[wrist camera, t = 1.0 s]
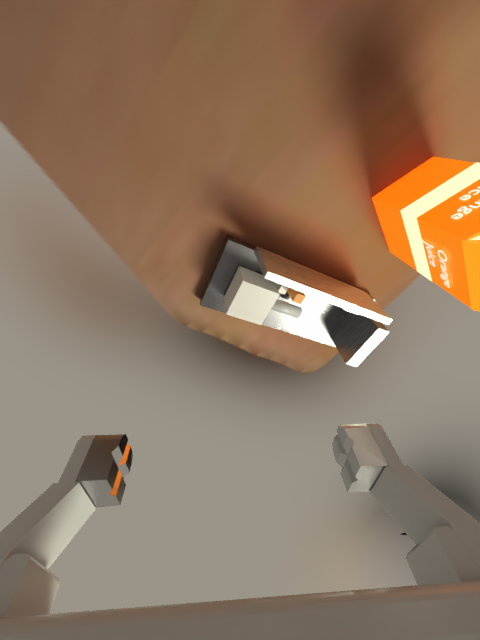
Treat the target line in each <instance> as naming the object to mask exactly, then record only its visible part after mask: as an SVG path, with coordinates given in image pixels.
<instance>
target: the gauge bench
mask: <svg viewBox="0 0 480 640" xmlns="http://www.w3.org/2000/svg"><path fill="white" fill-rule="evenodd" d="M239 266H241V267H243V268H246V269H249V270H251V271H254V272H257V273H259V274H262V275H263V276H264V278H266V279H268V280H271V281H274V282H276V283H279V284H282V285H284V286H287V287H290V288H292V289H295V290H297V291H300V292H303V293H304V294H305V296H306V297H305V299H304V300H303V302H302V303H301V304H298V303H295V302H292V300H291V298H290V296H289V294H288V292H286V293H285V295H284V294H281V293H280V295H279V297H278V299H279V300H282V301H285V302H288V303H290V304H293V305H296V306H299V307H301V308H302V314H301V316H300V317H299V318H295V317H292V316H289V315H286V314H283V313H280V312H277V311H274V310H270V312H269V313H268V315H267V316H266V318H265V320H264V321H263V323H262V325H266V326H269V327H272V328H275V329H279V330H282V331H285V332H288V333H291V334H295V335H298V336H301V337H304V338H308V339H311V340H314V341H317V342H320V343H324V344H327V345H330V346H333V347H336V348H337V349H338V351H339V353H340V354H341V356H342V357H343V359H344V361H345V363H346V364H348V365H352V366H355V367H357V366H358V365H359V364H360V363H361V362H362V361H363V360H364V359H365V357H367V356H368V354H369V353H370V352H371V351H372V350H373V349H374V348H375V347H376V346H377V345H378V344H379V343H380V342H381V341H382V340H383V339H384V338H385V337H386V336H387V334H388V333H389V331H388V330H387V329H386V327H385V326H384V325H383V324H382V323H385V324H388V325H389V323H390V322H391V321H392V319H391V318H390V317H389V316H388V315H387V314H386V312H385V311H384V310H383V309H382V308H381V307H380V306H379V305H378V304H377V303H376V302H375V299H374V298H373V297H372V296H371V295H369V294H367V293H366V292H365V291H363V290H360V289H358V288H356V287H353V286H351V285H349V284H346V283H344V282H341V281H339V280H337V279H334V278H332V277H329V276H327V275H325V274H322V273H320V272H317V271H315V270H313V269H310V268H308V267H306V266H303V265H301V264H298V263H296V262H294V261H291V260H289V259H286V258H284V257H282V256H279V255H277V254H275V253H272V252H270V251H267V250H265V249H263V248H260V247H258V246H256V247H254V246H252V245H249V244H247V243H245V242H242V241H240V240H237V239H235V238H233V237H230V236H227V239H226V241H225V243H224V246H223V248H222V250H221V252H220V255H219V257H218V259H217V262H216V264H215V266H214V269H213V271H212V273H211V276H210V278H209V280H208V282H207V285H206V287H205V289H204V292H203V294H202V296H201V299H200V305H201V306H204V307H208V308H211V309H214V310H217V311H221V312H224V313H226V310H225V302H224V296H225V294H226V292H227V290H228V288H229V286H230V284H231V282H232V280H233V278H234V276H235V273H236V271H237V269H238V267H239ZM381 322H382V323H381Z"/></svg>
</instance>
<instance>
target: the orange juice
mask: <svg viewBox="0 0 480 640" xmlns="http://www.w3.org/2000/svg"><path fill="white" fill-rule="evenodd" d="M372 200H373V203H374V206H375V209H376V212H377V215H378V218H379V221H380V224H381V227H382V230H383V233H384V236H385V239H386V242H387V245H388V248H389V250H390V252H391V253H392V254H394V255H395V256H397V257H398V258H400V259H401V260H403V261H404V262H405V263H407V264H408V265H410V266H411V267H413V268H414V269H415V270H417V271H418V272H419V273H420V274H422V275H423V276H425V277H426V278H428V279H429V280H430V281H433V282H434V283H436V284H437V285H439V286H440V287H442V288H443V289H444V290H446V291H447V292H449V293H450V294H452V295H453V296H454V297H456V298H457V299H459V300H460V301H462V302H463V303H464V304H466V305H467V306H469V307H470V308H471V309H472V310H476V311H480V163H472V162H465V161H459V160H452V159H446V158H439V157H432V158H430V159H429V160H427V161H426V162H424V163H423V164H421V165H420V166H418V167H417V168H415V169H414V170H412V171H411V172H409V173H408V174H406V175H405V176H403V177H402V178H400V179H399V180H397V181H396V182H394V183H393V184H391V185H390V186H388V187H387V188H385V189H384V190H382V191H381V192H379V193H378V194H376V195H375V196H373V197H372Z"/></svg>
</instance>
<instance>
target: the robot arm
mask: <svg viewBox="0 0 480 640" xmlns="http://www.w3.org/2000/svg"><path fill="white" fill-rule="evenodd" d="M337 432H338V435H336V436H335V437H334V440H333V452H334V456H335V459H336V462H337V463H338V464H339V465H340V466H341V467H343V468H342V471H341V476H342V478H343V481H344V484H345V487H346V489H347V492H370V494H371V495H372V496H373V497H374V498H375V499H376V501H377V502H378V503H379V504H380V505H381V506H382V507H383V508H384V509H385V510H386V512H387V513H388V514H389V515H390V516H391V517H392V518H393V519H394V521H395V522H396V523H397V524H398V525H399V526H400V527H401V528H402V529H403V530H404V532H405V533H406V534H407V535H408V536H409V537H410V538H411V539H412V540H413V542H414V543H415V544H416V546H415V547H414V548H413V549H412V550H410V552H408V554H407V557H406V559H407V561H408V563H409V566H410V568H411V571H412V573H413V575H414V577H415V580H416V582H417V584H418V585H415V586H403V587H390V588H377V589H364V590H352V591H339V592H326V593H314V594H301V595H288V596H276V597H262V598H249V599H237V600H224V601H212V602H199V603H186V604H173V605H161V606H147V607H135V608H122V609H110V610H96V611H84V612H71V613H59V614H49V613H50V610H51V607H52V604H53V602H54V599H55V596H56V593H57V590H58V587H59V585H60V582H59V579H58V577H56V576H55V575H54V574H52V573H51V572H50V571H49V570H48V569H49V567H50V566H51V565H52V563H53V562H54V561H55V560H56V558H57V557H58V556H59V555H60V553H61V552H62V551H63V550H64V548H65V547H66V546H67V545H68V543H69V542H70V541H71V540H72V538H73V537H74V536H75V534H76V533H77V532H78V530H79V529H80V528H81V527H82V526H83V524H84V523H85V522H86V520H87V519H88V518H89V517H90V516H91V514H92V513H93V512H94V510H95V509H96V508H95V507H104V506H116V505H120V504H121V501H122V497H123V494H124V490H125V486H126V484H125V482H124V480H123V479H124V478H125V476H126V475H127V474H128V473H129V472H130V468H131V464H132V449H131V446H129V445H128V444H127V441H128V438H127V436H126V434H123V435H122V434H119V435H89V436H82V437H81V438H80V440H78V442H77V444H76V446H75V449H74V451H73V453H72V455H71V457H70V459H69V461H68V463H67V465H66V467H65V469H64V472H63V474H62V476H61V478H60V480H59V482H58V483H55V484H52V485H51V486H50V487H49V488H48V489H47V490H46V491H45V492H44V493H43V494H42V495H41V496H39V497H38V498H37V499H36V500H35V501H34V502H33V503H32V504H31V505H29V506H28V507H27V508H26V509H25V510H24V511H23V512H22V513H21V514H20V515H19V516H17V518H15V519H14V520H13V521H12V522H11V523H10V524H9V525H8V526H6V528H4V529H3V530H2V531H1V532H0V640H480V523H479V522H477V521H476V520H475V519H474V518H473V517H471V516H470V515H469V514H467V513H466V512H465V511H464V510H463V509H461V508H460V507H459V506H458V505H456V504H455V503H454V502H453V501H451V500H450V499H449V498H447V497H446V496H445V495H444V494H443V493H441V492H440V491H439V490H438V489H436V488H435V487H434V486H433V485H431V484H430V483H429V482H428V481H426V480H425V479H424V478H423V477H421V476H420V475H419V474H418V473H416V472H415V471H414V470H413V469H411V468H410V467H409V466H408V465H403V463H402V462H401V460H400V458H399V456H398V455H397V453H396V451H395V449H394V447H393V446H392V444H391V442H390V440H389V439H388V437H387V435H386V433H385V432H384V430H383V428H382V426H381V425H379V424H377V423H371V424H349V425H340V426H338V428H337Z"/></svg>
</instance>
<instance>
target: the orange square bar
mask: <svg viewBox="0 0 480 640" xmlns="http://www.w3.org/2000/svg"><path fill="white" fill-rule="evenodd" d="M287 292H288V294H289V296H290V298H291V300H292V302H295V303H298V304H301V303H302V302H303V300H304V299H305V297H306V296H305V294H304V293H303V292H300V291H297V290H295V289H292V288H290V287H289V289H288V290H287Z"/></svg>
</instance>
